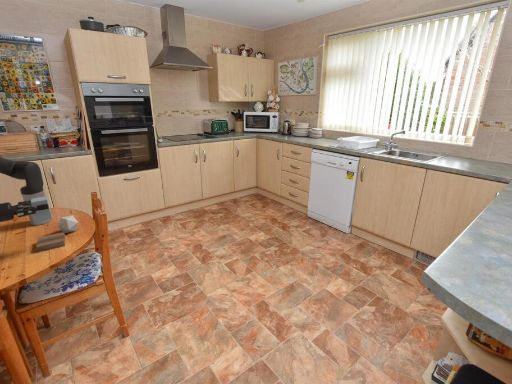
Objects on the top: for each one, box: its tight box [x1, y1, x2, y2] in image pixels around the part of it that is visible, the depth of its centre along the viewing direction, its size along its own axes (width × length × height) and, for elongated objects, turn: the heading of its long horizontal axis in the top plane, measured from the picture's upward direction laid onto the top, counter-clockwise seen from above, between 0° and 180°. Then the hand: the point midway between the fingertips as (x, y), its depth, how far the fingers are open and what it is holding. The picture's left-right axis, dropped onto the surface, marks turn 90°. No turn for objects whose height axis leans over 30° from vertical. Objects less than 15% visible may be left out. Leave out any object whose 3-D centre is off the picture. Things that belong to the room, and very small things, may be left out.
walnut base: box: [35, 231, 66, 253], centre depth 125 cm, size 10×10×3 cm
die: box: [57, 214, 79, 234], centre depth 136 cm, size 8×9×10 cm
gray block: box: [31, 195, 53, 222], centre depth 119 cm, size 6×6×9 cm
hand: (47, 204), depth 120 cm, fingers closed on gray block, 5 cm apart
